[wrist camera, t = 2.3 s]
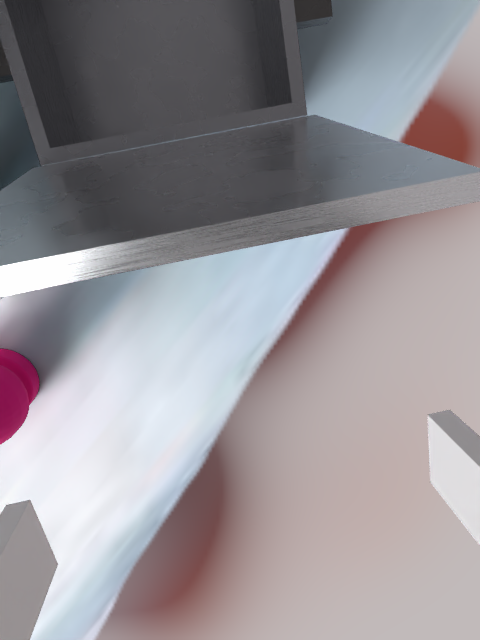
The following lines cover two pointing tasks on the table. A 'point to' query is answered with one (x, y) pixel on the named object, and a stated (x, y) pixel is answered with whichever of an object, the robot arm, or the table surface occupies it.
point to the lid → (213, 198)
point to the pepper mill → (15, 391)
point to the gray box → (151, 69)
